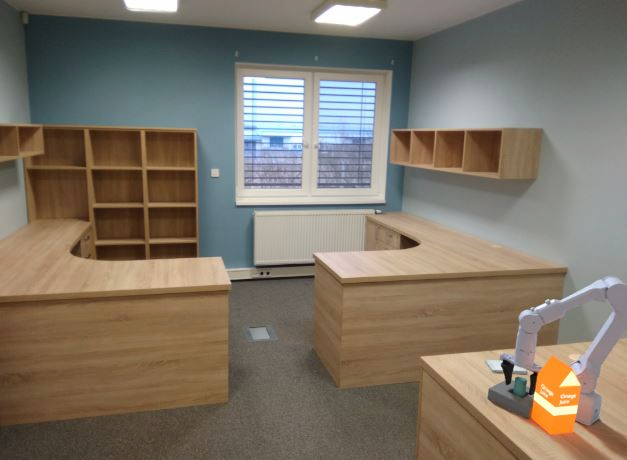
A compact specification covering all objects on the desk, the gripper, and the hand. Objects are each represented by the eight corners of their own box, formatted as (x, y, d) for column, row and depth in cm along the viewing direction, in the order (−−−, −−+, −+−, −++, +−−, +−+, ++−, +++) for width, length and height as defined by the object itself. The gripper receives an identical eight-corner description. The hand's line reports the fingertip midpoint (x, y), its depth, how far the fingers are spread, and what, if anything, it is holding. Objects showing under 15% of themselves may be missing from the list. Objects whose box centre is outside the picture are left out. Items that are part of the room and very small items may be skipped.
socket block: (548, 406, 159) (550, 396, 159) (528, 418, 152) (530, 408, 151) (507, 388, 170) (508, 378, 169) (487, 398, 162) (488, 388, 162)
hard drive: (518, 360, 189) (484, 359, 189) (527, 371, 181) (492, 369, 181) (517, 364, 189) (484, 363, 189) (526, 375, 181) (492, 373, 181)
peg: (525, 403, 161) (528, 379, 159) (520, 406, 158) (524, 383, 157) (514, 398, 163) (518, 375, 162) (510, 402, 161) (513, 379, 159)
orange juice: (550, 434, 144) (560, 369, 140) (530, 417, 153) (539, 355, 149) (573, 432, 146) (584, 368, 142) (552, 415, 155) (562, 354, 151)
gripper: (554, 353, 155) (548, 394, 157) (509, 337, 165) (504, 376, 168) (544, 359, 150) (537, 401, 153) (498, 343, 160) (493, 382, 163)
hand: (519, 389), depth 160 cm, fingers open, 7 cm apart
